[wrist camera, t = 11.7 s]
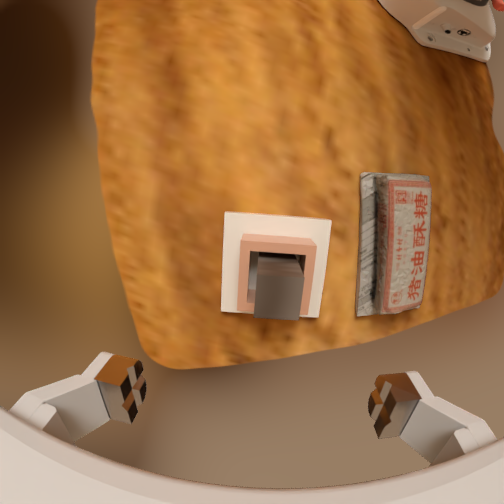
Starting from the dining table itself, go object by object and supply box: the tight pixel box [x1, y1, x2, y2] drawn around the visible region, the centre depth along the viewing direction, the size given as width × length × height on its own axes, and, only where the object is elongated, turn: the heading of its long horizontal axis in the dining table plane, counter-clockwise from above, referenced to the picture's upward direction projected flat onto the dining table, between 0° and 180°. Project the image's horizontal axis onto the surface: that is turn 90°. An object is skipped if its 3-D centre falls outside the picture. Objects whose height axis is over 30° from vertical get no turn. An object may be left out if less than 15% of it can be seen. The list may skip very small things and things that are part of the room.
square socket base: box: [221, 211, 331, 317], centre depth 32 cm, size 12×12×5 cm
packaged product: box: [355, 172, 432, 316], centre depth 31 cm, size 18×5×10 cm
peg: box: [254, 252, 305, 320], centre depth 29 cm, size 4×4×9 cm
